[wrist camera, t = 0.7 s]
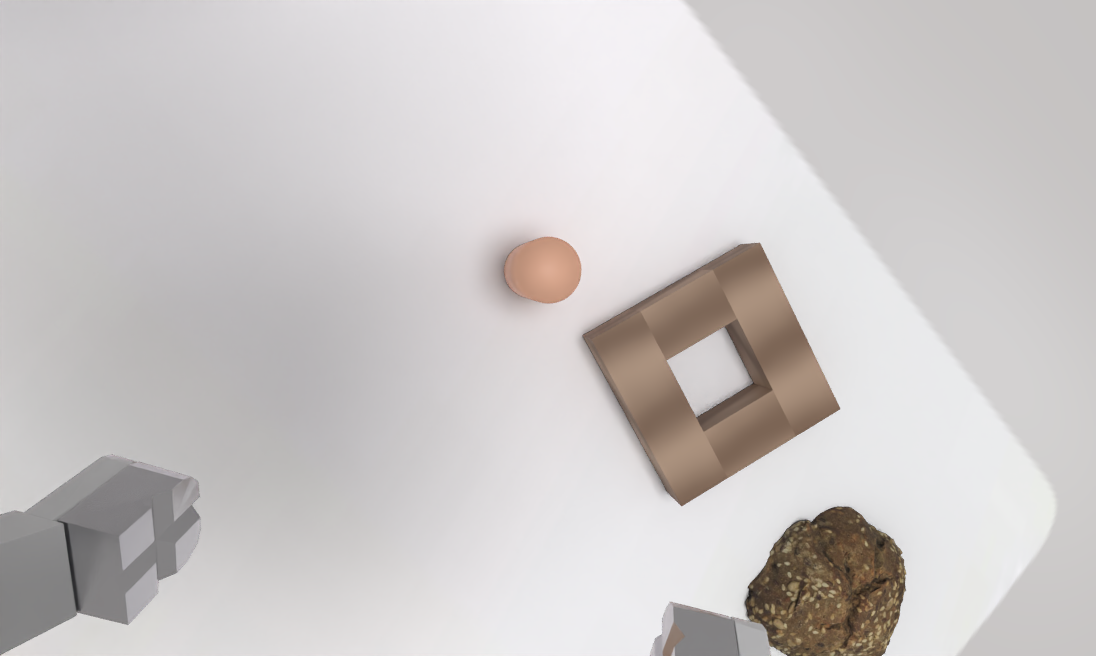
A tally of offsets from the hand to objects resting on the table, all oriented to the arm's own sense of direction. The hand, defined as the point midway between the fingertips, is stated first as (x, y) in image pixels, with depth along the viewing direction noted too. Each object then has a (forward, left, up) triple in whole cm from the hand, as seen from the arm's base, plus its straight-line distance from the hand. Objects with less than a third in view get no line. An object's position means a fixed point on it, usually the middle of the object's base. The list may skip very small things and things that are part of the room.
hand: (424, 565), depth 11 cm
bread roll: (+33, +17, -37) cm, 52 cm away
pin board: (+12, +16, -36) cm, 41 cm away
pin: (-1, +8, -36) cm, 37 cm away
